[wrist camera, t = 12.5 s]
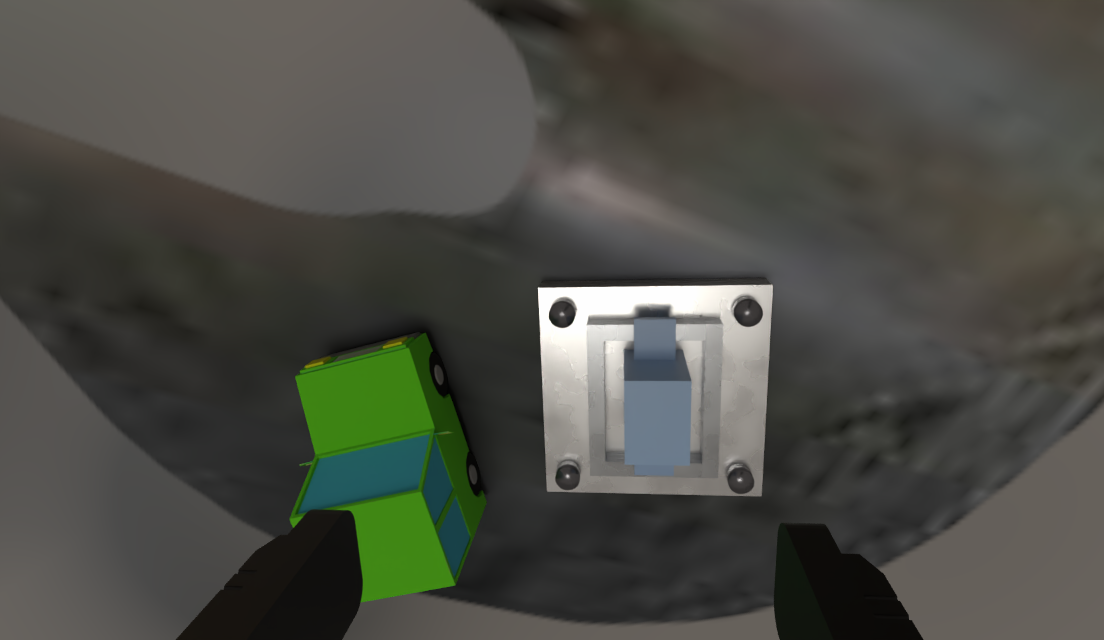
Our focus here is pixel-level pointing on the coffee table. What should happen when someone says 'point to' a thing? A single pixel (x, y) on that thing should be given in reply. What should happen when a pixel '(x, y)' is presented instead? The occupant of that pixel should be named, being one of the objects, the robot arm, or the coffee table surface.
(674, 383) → the block
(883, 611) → the robot arm
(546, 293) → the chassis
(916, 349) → the coffee table surface
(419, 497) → the toy car
